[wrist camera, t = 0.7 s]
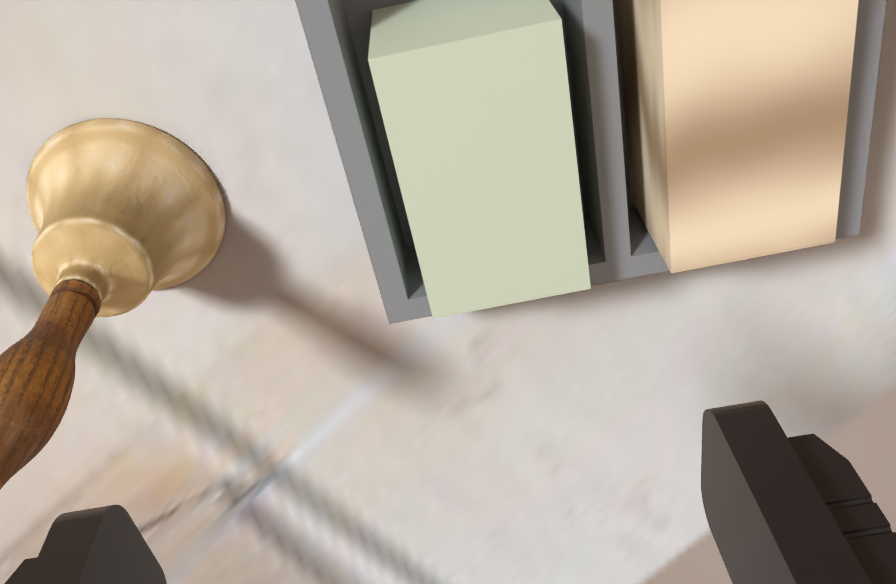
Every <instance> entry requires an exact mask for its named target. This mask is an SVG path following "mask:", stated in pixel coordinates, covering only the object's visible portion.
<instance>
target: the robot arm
mask: <svg viewBox="0 0 896 584" xmlns="http://www.w3.org/2000/svg"><path fill="white" fill-rule="evenodd" d="M701 492H702V499H703V504H704V509H705V513H706V517H707V520H708V524H709V527H710V529H711V532H712V534H713V537H714V539H715V541H716V544H717V547H718V549H719V551H720V554H721V556H722V559H723V561H724V564H725V566H726V568H727V571H728V573H729V576H730V578H731V580H732V583H733V584H896V533H895V532H894V533H893V532H892V531H891V528H890V524H889V522H888V520H887V519H886V517H885V516H884V514H883V513H882V511H881V510H880V508H879V507H878V505H877V504H876V503H873V501H872V498H871V494H870V493H869V491H868V490H867V488H866V487H865V485H864V484H863V482H862V480H861V479H860V477H859V476H858V474H857V473H856V471H855V470H854V468H853V466H852V465H851V463H850V462H849V461H848V460H847V459H846V458H845V457H843V456H842V455H840V454H839V453H838V452H837V451H835V450H834V449H832V447H830V446H829V445H828V444H826V443H825V442H824V441H822V440H821V439H820V438H818V437H817V436H816V435H815V434H808V435H802V436H795V437H789V438H787V436H786V435H785V433H784V431H783V430H782V428H781V426H780V424H779V423H778V421H777V419H776V417H775V416H774V414H773V412H772V411H771V409H770V408H769V406H768V405H767V404H766V403H765V402H764V401H755V402H749V403H743V404H737V405H731V406H725V407H719V408H712V409H706V410H705V411H704V414H703V424H702V463H701ZM5 584H166V579H165V575H164V572H163V570H162V568H161V566H160V565H159V563H158V561H157V560H156V558H155V556H154V555H153V553H152V552H151V550H150V548H149V547H148V545H147V543H146V542H145V540H144V538H143V537H142V535H141V534H140V532H139V530H138V529H137V527H136V525H135V524H134V522H133V521H132V519H131V517H130V516H129V514H128V513H127V511H126V510H125V509H124V508H123V507H122V506H120V505H111V506H105V507H99V508H93V509H87V510H81V511H75V512H69V513H63V514H61V515H60V516H58V517H57V518H56V520H55V521H54V522H53V524H52V526H51V528H50V530H49V533H48V535H47V537H46V540H45V542H44V544H43V546H42V549H41V551H40V553H39V556H38V557H37V558H31V559H25V560H24V561H23V562H22V564H21V565H20V566H19V567H18V568H17V569H16V571H15V572H14V573H13V574H12V575H11V577H10V578H9V579H8V580H7V581H6V583H5Z"/></svg>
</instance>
